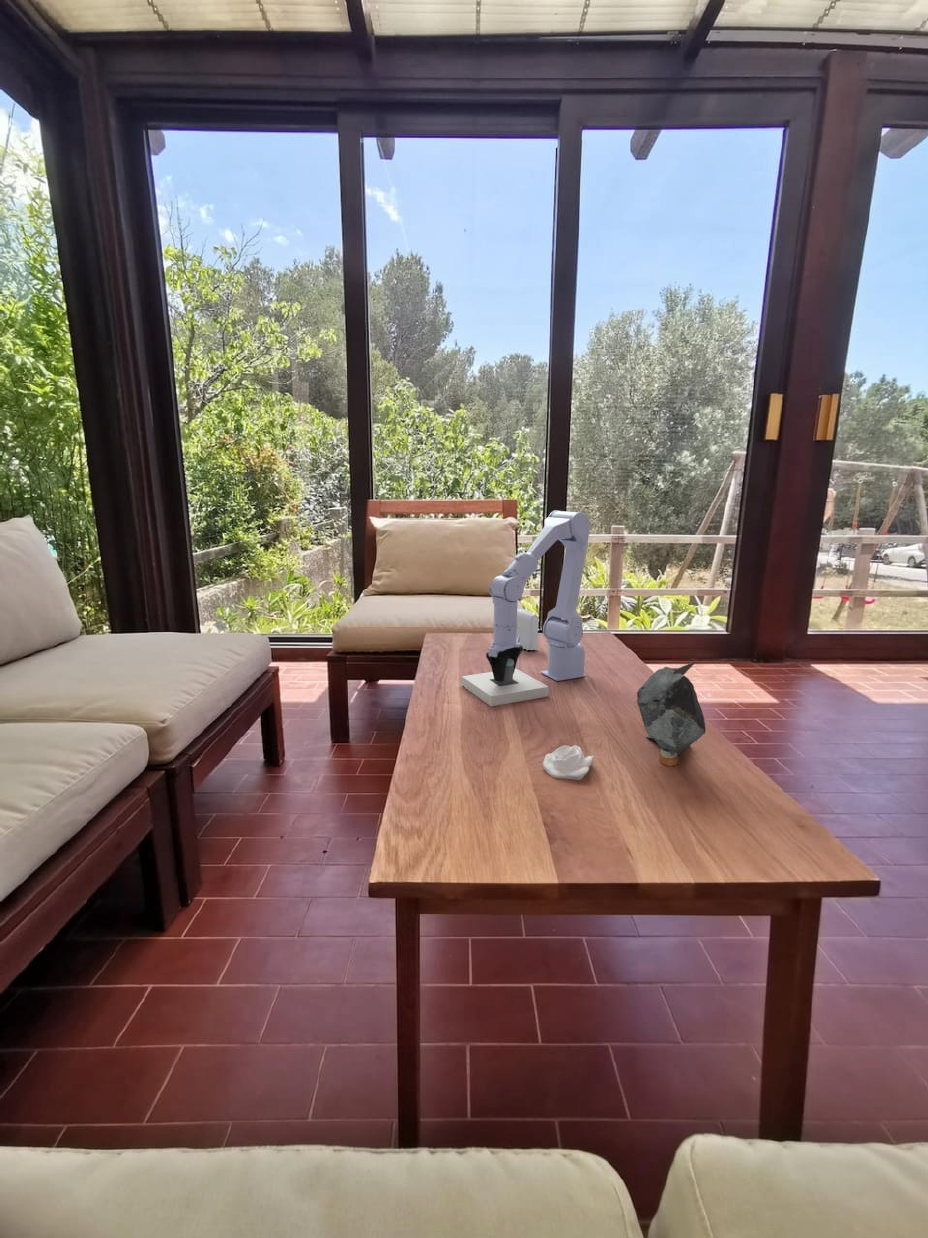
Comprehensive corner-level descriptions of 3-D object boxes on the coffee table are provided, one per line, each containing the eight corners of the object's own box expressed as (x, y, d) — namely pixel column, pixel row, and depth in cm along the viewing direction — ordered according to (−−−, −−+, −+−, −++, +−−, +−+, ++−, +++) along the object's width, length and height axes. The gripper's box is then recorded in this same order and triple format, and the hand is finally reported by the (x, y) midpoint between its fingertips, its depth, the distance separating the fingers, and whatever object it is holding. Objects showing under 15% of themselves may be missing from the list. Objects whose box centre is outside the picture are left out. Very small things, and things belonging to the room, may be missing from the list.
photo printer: (506, 645, 191) (507, 607, 188) (516, 643, 194) (517, 606, 191) (529, 652, 183) (531, 613, 180) (539, 650, 186) (540, 611, 183)
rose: (608, 755, 106) (560, 763, 102) (606, 778, 107) (559, 787, 103) (578, 733, 115) (533, 740, 112) (577, 754, 116) (533, 762, 113)
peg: (507, 687, 152) (508, 657, 150) (514, 692, 149) (517, 662, 147) (493, 688, 151) (494, 658, 149) (500, 694, 147) (502, 663, 145)
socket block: (515, 677, 160) (515, 668, 160) (548, 696, 146) (548, 686, 146) (461, 685, 153) (461, 676, 153) (490, 706, 139) (491, 696, 139)
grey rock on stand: (613, 756, 114) (619, 667, 110) (651, 733, 125) (658, 651, 121) (685, 783, 105) (694, 686, 100) (720, 755, 115) (730, 666, 111)
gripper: (508, 633, 138) (506, 688, 141) (531, 620, 150) (530, 671, 153) (481, 629, 141) (480, 683, 144) (506, 617, 153) (505, 667, 156)
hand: (504, 677), depth 149 cm, fingers open, 6 cm apart
